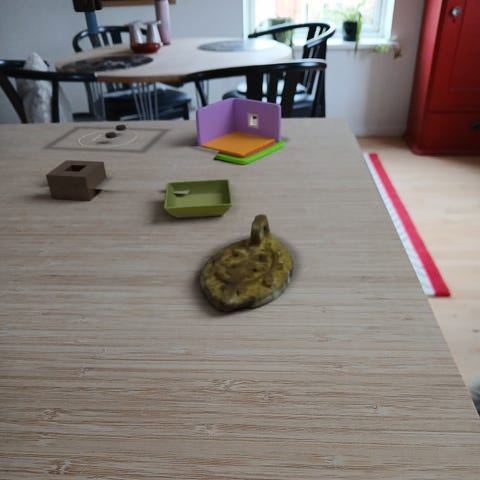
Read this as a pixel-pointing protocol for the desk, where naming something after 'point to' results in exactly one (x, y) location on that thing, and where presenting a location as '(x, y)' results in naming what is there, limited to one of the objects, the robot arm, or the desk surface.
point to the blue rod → (92, 26)
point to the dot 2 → (120, 127)
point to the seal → (248, 270)
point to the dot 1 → (110, 135)
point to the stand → (76, 180)
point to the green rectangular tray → (198, 198)
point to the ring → (100, 135)
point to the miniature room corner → (240, 129)
